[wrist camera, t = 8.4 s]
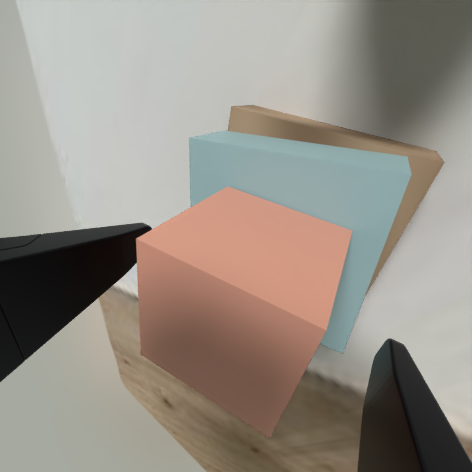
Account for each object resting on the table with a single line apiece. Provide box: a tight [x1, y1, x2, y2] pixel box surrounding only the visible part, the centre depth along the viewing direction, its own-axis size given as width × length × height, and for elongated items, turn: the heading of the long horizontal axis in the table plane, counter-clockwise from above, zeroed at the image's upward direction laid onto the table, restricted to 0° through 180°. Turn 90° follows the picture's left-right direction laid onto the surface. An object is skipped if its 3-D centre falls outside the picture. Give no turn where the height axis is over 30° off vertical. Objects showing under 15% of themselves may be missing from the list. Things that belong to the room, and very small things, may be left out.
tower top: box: [189, 131, 411, 354], centre depth 13 cm, size 8×8×3 cm
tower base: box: [228, 105, 444, 295], centre depth 15 cm, size 9×9×3 cm
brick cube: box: [136, 186, 352, 438], centre depth 9 cm, size 5×5×5 cm
